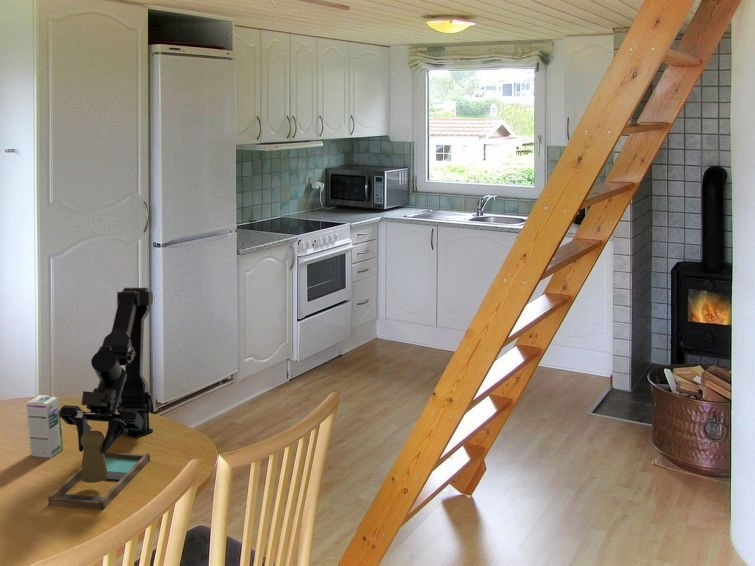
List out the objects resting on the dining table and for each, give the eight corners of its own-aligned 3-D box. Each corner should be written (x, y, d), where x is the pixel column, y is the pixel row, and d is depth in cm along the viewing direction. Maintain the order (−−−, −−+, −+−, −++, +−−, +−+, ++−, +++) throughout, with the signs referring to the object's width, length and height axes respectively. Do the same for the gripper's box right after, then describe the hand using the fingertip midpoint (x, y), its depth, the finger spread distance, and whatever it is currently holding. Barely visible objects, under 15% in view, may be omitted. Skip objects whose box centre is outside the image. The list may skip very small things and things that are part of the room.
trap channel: (101, 456, 226) (100, 449, 226) (149, 460, 225) (149, 453, 224) (48, 505, 201) (48, 496, 200) (102, 509, 199) (102, 501, 199)
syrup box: (51, 458, 225) (47, 403, 222) (29, 456, 226) (25, 401, 223) (63, 449, 231) (59, 395, 227) (42, 447, 232) (38, 393, 228)
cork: (96, 469, 213) (94, 425, 210) (113, 475, 210) (111, 431, 207) (75, 478, 208) (72, 433, 206) (92, 485, 205) (89, 440, 202)
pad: (104, 458, 225) (103, 457, 225) (143, 462, 224) (143, 460, 224) (90, 471, 218) (90, 469, 218) (131, 474, 217) (131, 473, 217)
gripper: (59, 372, 209) (38, 435, 201) (136, 377, 206) (118, 442, 198) (77, 392, 218) (58, 453, 210) (151, 398, 216) (134, 460, 208)
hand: (91, 452), depth 207 cm, fingers closed on cork, 5 cm apart
